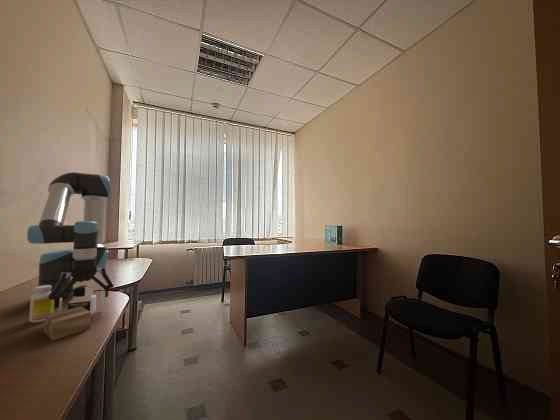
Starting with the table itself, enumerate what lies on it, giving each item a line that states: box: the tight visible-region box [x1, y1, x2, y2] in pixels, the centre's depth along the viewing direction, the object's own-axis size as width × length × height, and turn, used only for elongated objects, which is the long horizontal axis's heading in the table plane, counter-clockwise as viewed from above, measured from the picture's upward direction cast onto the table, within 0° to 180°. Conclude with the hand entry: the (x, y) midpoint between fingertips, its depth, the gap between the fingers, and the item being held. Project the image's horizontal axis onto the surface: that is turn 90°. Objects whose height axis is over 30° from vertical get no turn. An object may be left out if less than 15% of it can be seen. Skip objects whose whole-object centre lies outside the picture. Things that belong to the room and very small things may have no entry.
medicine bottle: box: [67, 284, 97, 317], centre depth 93 cm, size 7×7×12 cm
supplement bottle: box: [28, 285, 55, 324], centre depth 89 cm, size 7×7×13 cm
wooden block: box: [43, 306, 92, 341], centre depth 81 cm, size 10×10×6 cm
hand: (82, 310), depth 93 cm, fingers open, 13 cm apart
